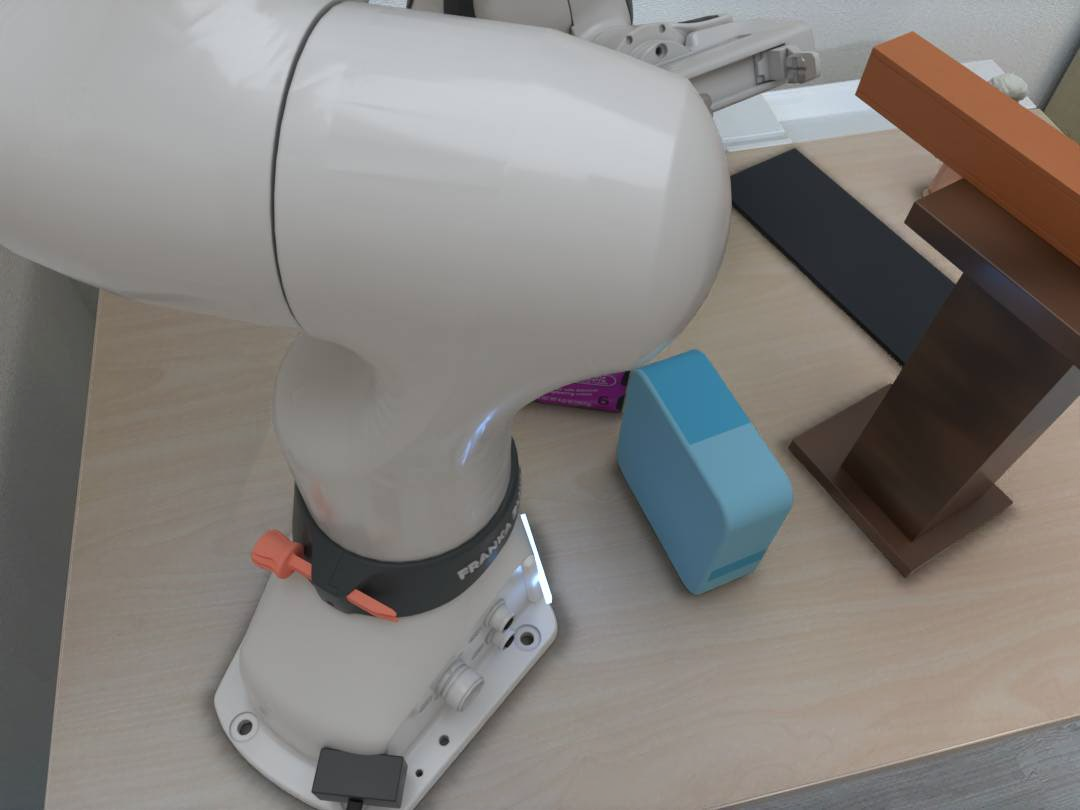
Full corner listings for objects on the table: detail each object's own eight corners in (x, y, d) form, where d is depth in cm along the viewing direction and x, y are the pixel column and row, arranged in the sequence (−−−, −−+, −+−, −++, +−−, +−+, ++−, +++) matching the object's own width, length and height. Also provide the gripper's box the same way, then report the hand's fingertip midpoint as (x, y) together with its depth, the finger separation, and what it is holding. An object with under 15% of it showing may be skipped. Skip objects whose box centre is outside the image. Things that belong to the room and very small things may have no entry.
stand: (787, 447, 62) (914, 200, 42) (885, 391, 65) (1045, 137, 45) (905, 578, 57) (1114, 363, 37) (1005, 510, 60) (1248, 278, 40)
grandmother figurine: (934, 223, 76) (1000, 103, 66) (903, 198, 78) (964, 77, 67) (992, 195, 78) (1066, 74, 68) (962, 171, 80) (1029, 50, 70)
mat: (712, 186, 78) (713, 182, 78) (793, 151, 81) (795, 147, 81) (916, 380, 66) (919, 376, 66) (1003, 330, 69) (1006, 326, 69)
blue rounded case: (751, 578, 56) (802, 494, 46) (693, 603, 55) (731, 522, 45) (667, 438, 62) (696, 337, 52) (613, 458, 61) (631, 359, 51)
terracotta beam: (854, 95, 47) (872, 46, 45) (892, 79, 48) (912, 30, 46) (1163, 332, 38) (1209, 287, 35) (1204, 306, 39) (1251, 261, 36)
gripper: (521, 83, 62) (622, 87, 51) (735, 7, 69) (867, -4, 57) (541, 166, 65) (641, 187, 54) (745, 86, 72) (872, 90, 60)
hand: (759, 88), depth 56 cm, fingers open, 8 cm apart
